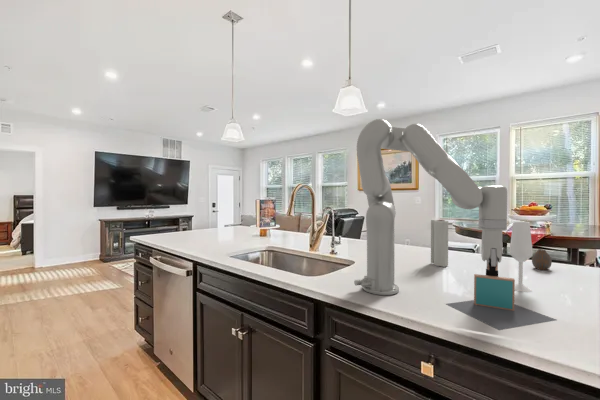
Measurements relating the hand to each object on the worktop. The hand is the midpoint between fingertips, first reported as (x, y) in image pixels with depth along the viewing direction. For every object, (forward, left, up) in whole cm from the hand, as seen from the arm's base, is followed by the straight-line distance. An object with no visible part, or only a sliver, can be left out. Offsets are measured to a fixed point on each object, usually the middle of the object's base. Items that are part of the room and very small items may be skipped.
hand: (491, 282), depth 95 cm
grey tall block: (+18, +43, -6) cm, 47 cm away
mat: (-7, -8, -6) cm, 12 cm away
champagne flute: (+20, +6, -6) cm, 22 cm away
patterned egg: (+56, +24, -6) cm, 62 cm away
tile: (-5, -5, -6) cm, 9 cm away
